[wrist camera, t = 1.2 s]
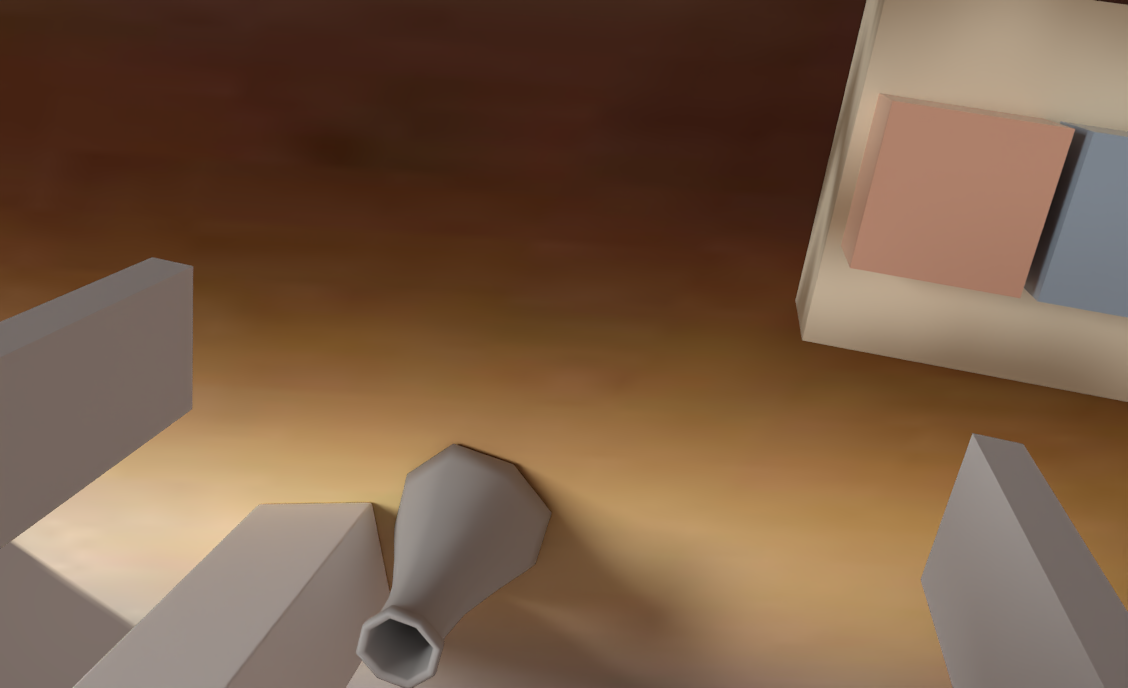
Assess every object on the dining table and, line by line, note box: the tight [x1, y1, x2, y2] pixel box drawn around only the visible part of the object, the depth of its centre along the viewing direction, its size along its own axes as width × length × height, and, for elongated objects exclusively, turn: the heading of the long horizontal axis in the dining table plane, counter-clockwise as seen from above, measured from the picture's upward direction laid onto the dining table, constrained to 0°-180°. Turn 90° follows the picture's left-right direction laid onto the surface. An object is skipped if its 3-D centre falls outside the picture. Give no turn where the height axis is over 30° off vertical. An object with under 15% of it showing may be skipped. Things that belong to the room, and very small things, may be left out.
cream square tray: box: [796, 0, 1128, 402], centre depth 32 cm, size 12×12×5 cm
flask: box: [356, 444, 551, 688], centre depth 38 cm, size 7×7×10 cm
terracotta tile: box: [841, 93, 1075, 298], centre depth 28 cm, size 5×5×3 cm
